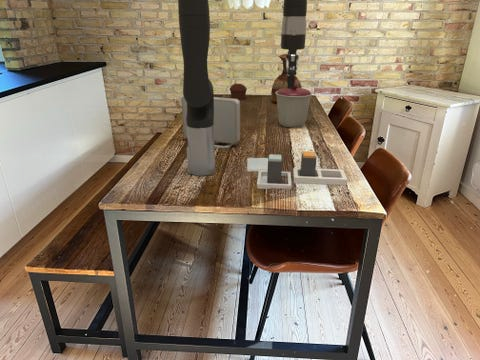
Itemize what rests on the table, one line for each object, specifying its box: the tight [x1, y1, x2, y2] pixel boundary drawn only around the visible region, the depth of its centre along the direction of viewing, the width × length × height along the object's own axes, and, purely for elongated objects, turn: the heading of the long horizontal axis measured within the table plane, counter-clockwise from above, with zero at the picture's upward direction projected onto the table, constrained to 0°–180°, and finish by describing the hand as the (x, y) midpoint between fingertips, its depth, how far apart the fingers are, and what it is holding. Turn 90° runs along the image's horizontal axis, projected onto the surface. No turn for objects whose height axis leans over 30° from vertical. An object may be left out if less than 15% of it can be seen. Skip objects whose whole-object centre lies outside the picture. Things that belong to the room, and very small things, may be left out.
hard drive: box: [246, 157, 268, 173], centre depth 132 cm, size 2×8×12 cm
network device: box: [180, 96, 241, 149], centre depth 152 cm, size 26×9×20 cm, turn 68°
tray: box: [256, 171, 292, 190], centre depth 118 cm, size 11×11×2 cm
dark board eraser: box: [267, 153, 283, 184], centre depth 117 cm, size 4×4×9 cm
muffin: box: [229, 83, 248, 102], centre depth 236 cm, size 12×11×10 cm
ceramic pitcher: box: [270, 53, 303, 103], centre depth 223 cm, size 20×20×30 cm
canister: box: [275, 83, 313, 129], centre depth 178 cm, size 18×18×21 cm
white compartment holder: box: [292, 167, 348, 186], centre depth 120 cm, size 17×8×3 cm, turn 84°
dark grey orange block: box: [300, 150, 317, 177], centre depth 118 cm, size 4×4×9 cm
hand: (290, 85), depth 117 cm, fingers open, 8 cm apart
